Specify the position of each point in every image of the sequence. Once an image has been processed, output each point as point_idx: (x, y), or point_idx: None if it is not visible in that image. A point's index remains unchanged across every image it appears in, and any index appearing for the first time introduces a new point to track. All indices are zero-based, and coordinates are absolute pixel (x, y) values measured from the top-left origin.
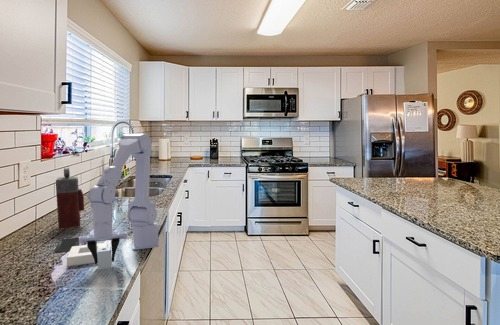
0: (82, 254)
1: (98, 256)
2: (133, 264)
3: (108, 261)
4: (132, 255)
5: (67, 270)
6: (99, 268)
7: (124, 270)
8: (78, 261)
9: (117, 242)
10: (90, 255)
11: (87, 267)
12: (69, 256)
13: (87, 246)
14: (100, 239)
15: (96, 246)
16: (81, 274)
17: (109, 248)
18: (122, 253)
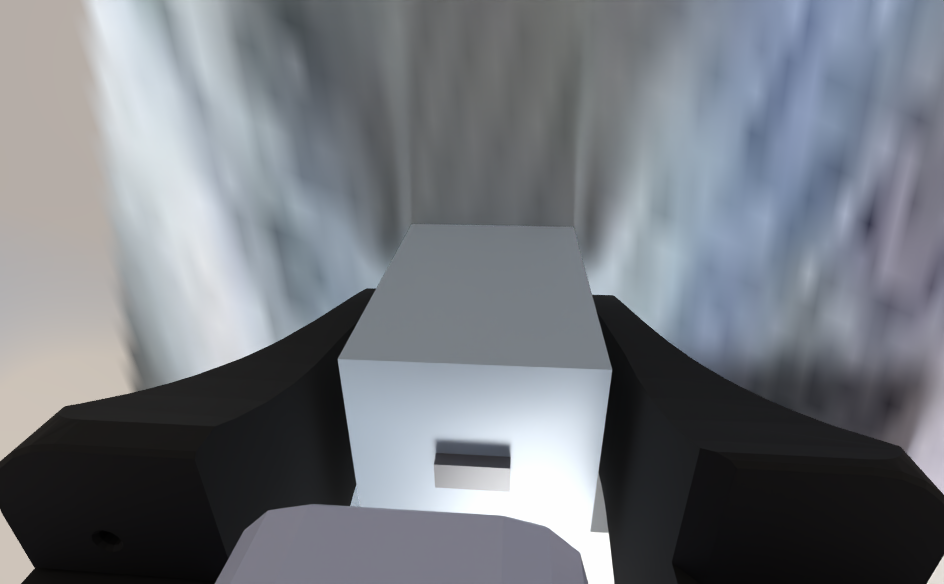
0: None
1: (577, 314)
2: (153, 237)
3: (426, 262)
4: None
5: (932, 346)
6: (556, 231)
7: (219, 59)
8: None
9: (28, 437)
10: None
11: (694, 349)
12: (940, 575)
13: (932, 492)
14: (524, 574)
15: (622, 576)
16: (796, 138)
17: (376, 467)
18: None
